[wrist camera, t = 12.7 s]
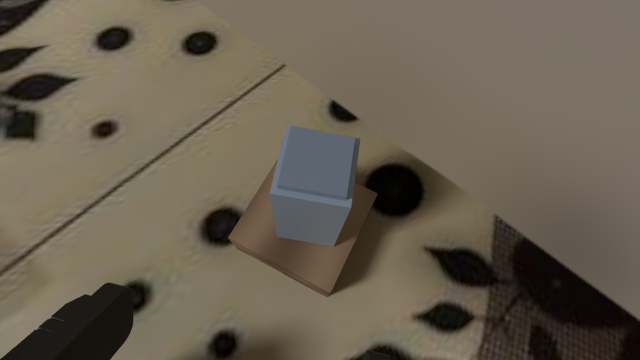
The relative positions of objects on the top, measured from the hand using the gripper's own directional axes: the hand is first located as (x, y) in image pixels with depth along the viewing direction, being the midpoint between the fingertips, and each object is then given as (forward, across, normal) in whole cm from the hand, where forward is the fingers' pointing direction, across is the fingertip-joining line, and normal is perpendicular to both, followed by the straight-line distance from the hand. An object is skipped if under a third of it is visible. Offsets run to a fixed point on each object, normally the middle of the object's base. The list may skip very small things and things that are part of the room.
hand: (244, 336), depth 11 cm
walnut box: (+22, 0, +9) cm, 24 cm away
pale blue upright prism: (+19, 0, +5) cm, 20 cm away
